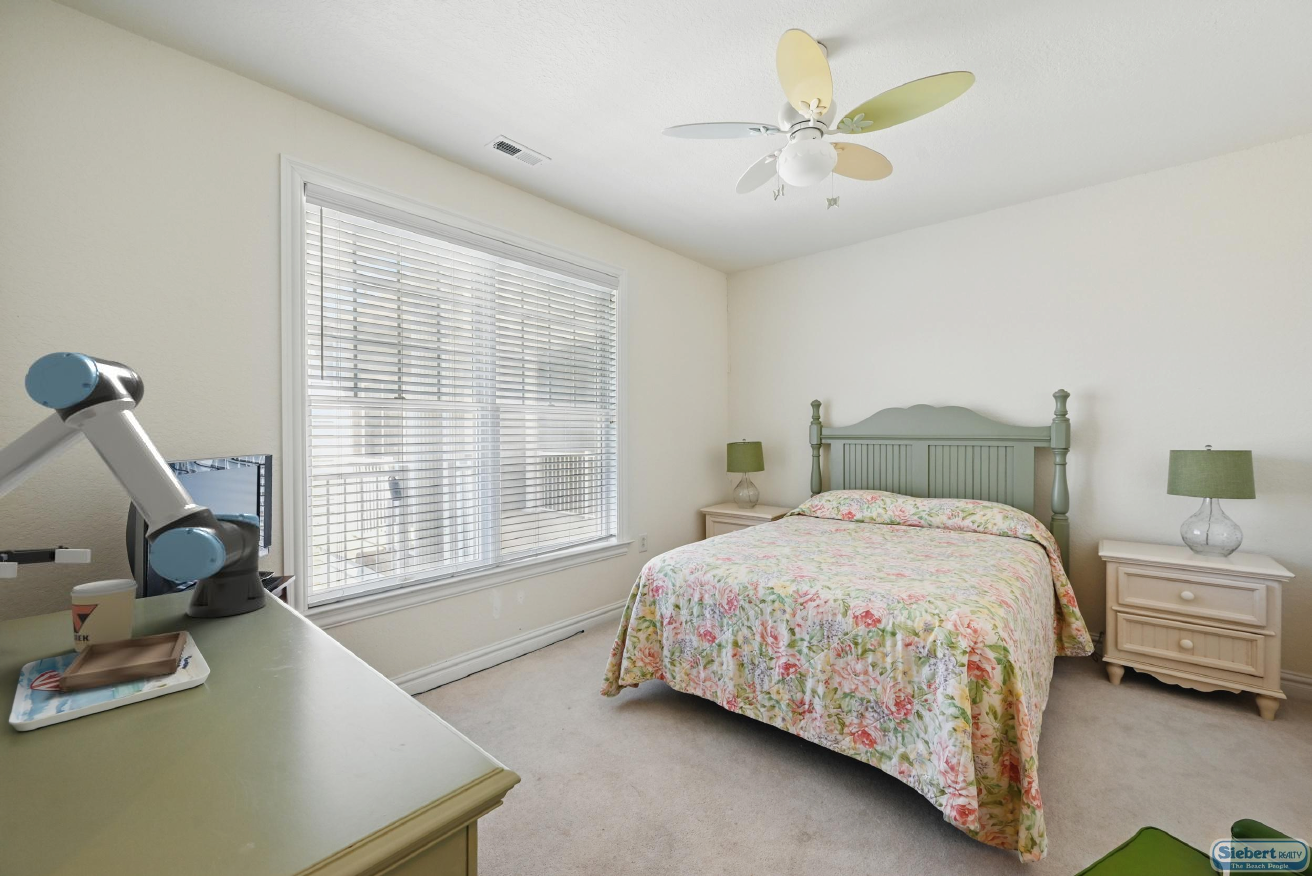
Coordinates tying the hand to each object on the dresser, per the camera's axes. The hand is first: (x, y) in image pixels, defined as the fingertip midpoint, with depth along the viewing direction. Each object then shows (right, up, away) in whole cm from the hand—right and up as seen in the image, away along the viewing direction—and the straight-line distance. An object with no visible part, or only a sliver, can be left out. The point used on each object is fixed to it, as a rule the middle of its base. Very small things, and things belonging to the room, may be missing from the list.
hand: (54, 562), depth 108 cm
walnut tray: (+25, -16, -10) cm, 31 cm away
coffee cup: (+10, -16, 0) cm, 19 cm away
